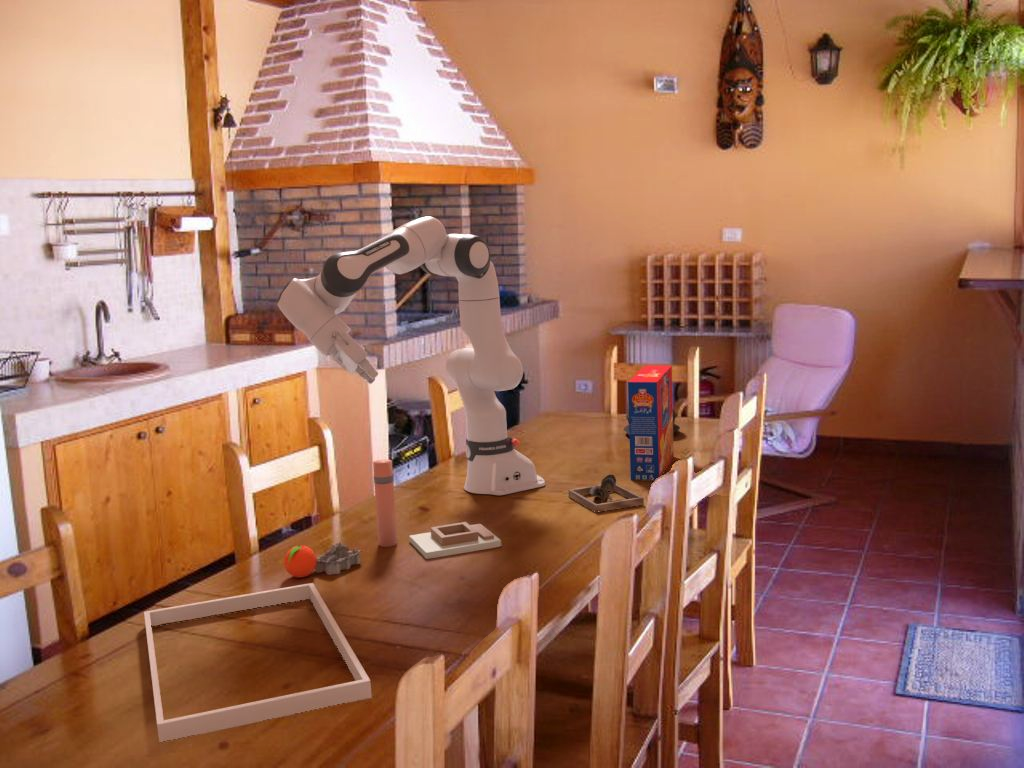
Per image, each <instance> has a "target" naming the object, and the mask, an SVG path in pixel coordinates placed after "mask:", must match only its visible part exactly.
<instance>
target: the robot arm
mask: <svg viewBox="0 0 1024 768" xmlns="http://www.w3.org/2000/svg"><path fill="white" fill-rule="evenodd" d="M419 267H420V268H421V269H422V271H424V272H425V273H426V274H429V275H432V276H442V277H450V278H453V277H455V278H456V280H457V282H458V289H457V290H458V307H459V308H458V309H459V320H460V321H459V322H460V328H461V331H462V332H463V333H464V334H465V335H466V336H467V337H468V339H469V341H470V344H471V346H472V347H463V348H458V349H454V350H453V351H452V352H451V353H450V354H449V355H448V356H447V359H446V362H445V372H446V375H447V377H448V378H449V380H450V381H452V383H453V384H454V386H455V388H456V389H457V391H458V394H459V396H460V398H461V402H462V405H463V409H464V413H465V423H466V437H467V438H465V456H466V459H467V468H466V469H467V470H466V478H465V483H464V487H463V488H464V489H463V490H465V491H466V492H469V493H471V494H476V495H477V494H478V495H480V494H481V495H493V496H504V495H505V496H506V495H509V494H513V493H519V492H523V491H528V490H533V489H537V488H541V487H544V486H545V485H546V481H545V479H544V478H543V477H541V476H540V475H538V474H537V470H536V467H535V464H534V462H533V461H532V460H531V459H529V458H528V457H527V456H525V455H524V454H522V453H521V452H520V451H518V450H516V449H515V448H514V447H516V448H517V447H519V445H520V444H521V441H520V440H519V439H517V438H513V437H511V436H508V429H507V427H508V426H507V425H508V424H507V410H506V408H505V406H504V405H503V404H502V403H501V402H500V400H499V399H498V398H497V396H496V392H503V391H509V390H514V389H515V388H516V387H518V385H519V384H520V383H521V381H522V379H523V375H524V374H523V373H524V368H523V364H522V361H521V360H520V358H519V357H518V356H517V355H516V354H515V353H514V352H513V350H512V349H511V347H510V344H509V342H508V340H507V338H506V337H507V336H506V335H505V331H504V328H503V323H502V314H501V301H500V290H499V289H500V288H499V281H498V277H497V272H496V269H495V265H494V263H493V261H491V251H490V247H489V245H488V243H487V241H486V240H485V239H484V238H483V237H481V236H478V235H476V234H473V233H472V234H471V233H469V234H464V233H449V234H448V233H447V230H446V227H445V226H444V225H443V223H442V222H441V221H440V220H439V219H437V218H436V217H433V216H431V215H430V216H428V215H427V216H423V217H422V216H421V217H419V218H416V219H415V218H414V219H413V220H410V221H408V222H406V223H404V224H402V225H400V226H399V227H397V228H395V229H393V230H392V231H390V232H389V233H387V234H385V236H384V237H382V238H380V239H378V240H376V241H374V242H372V243H370V244H368V245H365V246H364V247H361V248H360V249H357V250H352V251H343V252H336V253H334V254H332V255H330V256H329V257H328V258H327V259H326V261H325V262H324V264H323V267H322V269H321V271H320V273H319V274H318V275H317V276H314V277H310V278H304V279H303V278H302V279H300V278H296V277H294V278H292V279H290V280H289V281H288V282H287V283H286V284H285V286H284V287H283V288H282V290H281V291H280V293H279V295H278V296H277V299H276V305H277V307H278V308H279V310H280V312H281V313H282V314H283V316H284V317H285V318H286V319H287V320H288V321H289V323H291V324H292V325H293V326H294V327H295V329H297V330H299V331H300V332H302V333H303V334H304V335H305V336H306V338H307V339H308V341H309V342H310V344H312V345H313V346H314V347H315V349H317V350H318V351H319V352H320V353H321V354H322V355H323V356H325V357H330V358H331V359H332V360H333V361H334V362H336V364H338V365H339V366H340V367H341V368H342V369H344V370H345V371H346V372H347V373H349V374H350V375H352V376H354V375H356V374H357V375H358V376H359V377H361V378H362V379H363V380H365V382H367V383H368V384H369V385H372V384H373V383H374V382H375V380H376V377H378V375H379V372H378V371H377V370H376V369H375V368H374V366H373V365H372V364H371V362H370V361H369V360H368V359H367V357H368V352H367V351H366V350H365V349H364V348H363V347H362V346H361V345H360V344H359V343H358V342H357V341H356V339H354V338H353V337H352V336H351V335H350V333H351V331H352V328H350V326H349V325H347V324H346V323H345V321H344V320H343V319H342V318H340V316H338V315H339V314H340V313H342V312H344V311H345V310H346V309H347V308H348V307H349V305H350V303H351V302H352V301H353V300H354V298H355V296H356V295H357V294H358V292H359V291H360V290H362V288H363V287H364V286H365V284H366V282H367V281H368V278H369V277H370V275H371V276H372V275H373V274H375V273H376V272H378V271H380V270H382V269H384V268H386V269H387V270H388V271H390V272H391V273H393V274H396V275H403V274H406V273H409V272H411V271H414V270H415V269H417V268H419Z"/></svg>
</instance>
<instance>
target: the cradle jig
mask: <svg viewBox="0 0 1024 768" xmlns="http://www.w3.org/2000/svg"><path fill="white" fill-rule="evenodd" d="M408 538H409V543H410V544H411V545H412V546H413V547H414V548H415V549H416V551H418V552H419V553H420V554H421V555H422V556H423V558H424V559H426V560H429V559H436V558H442V557H446V556H452V555H453V556H454V555H458V554H464V553H471V552H477V551H482V550H488V549H495V548H500V546H501V547H502V540H501V538H499V537H498V536H496V535H495V534H494V533H492V531H490V530H489V529H488V528H486V527H485V526H483V524H481V523H476V524H469V523H468V522H467V521H462V522H456V523H449V524H444V525H443V524H442V525H438V526H432V527H430V532H423V533H417V534H410V535H409V537H408Z"/></svg>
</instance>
